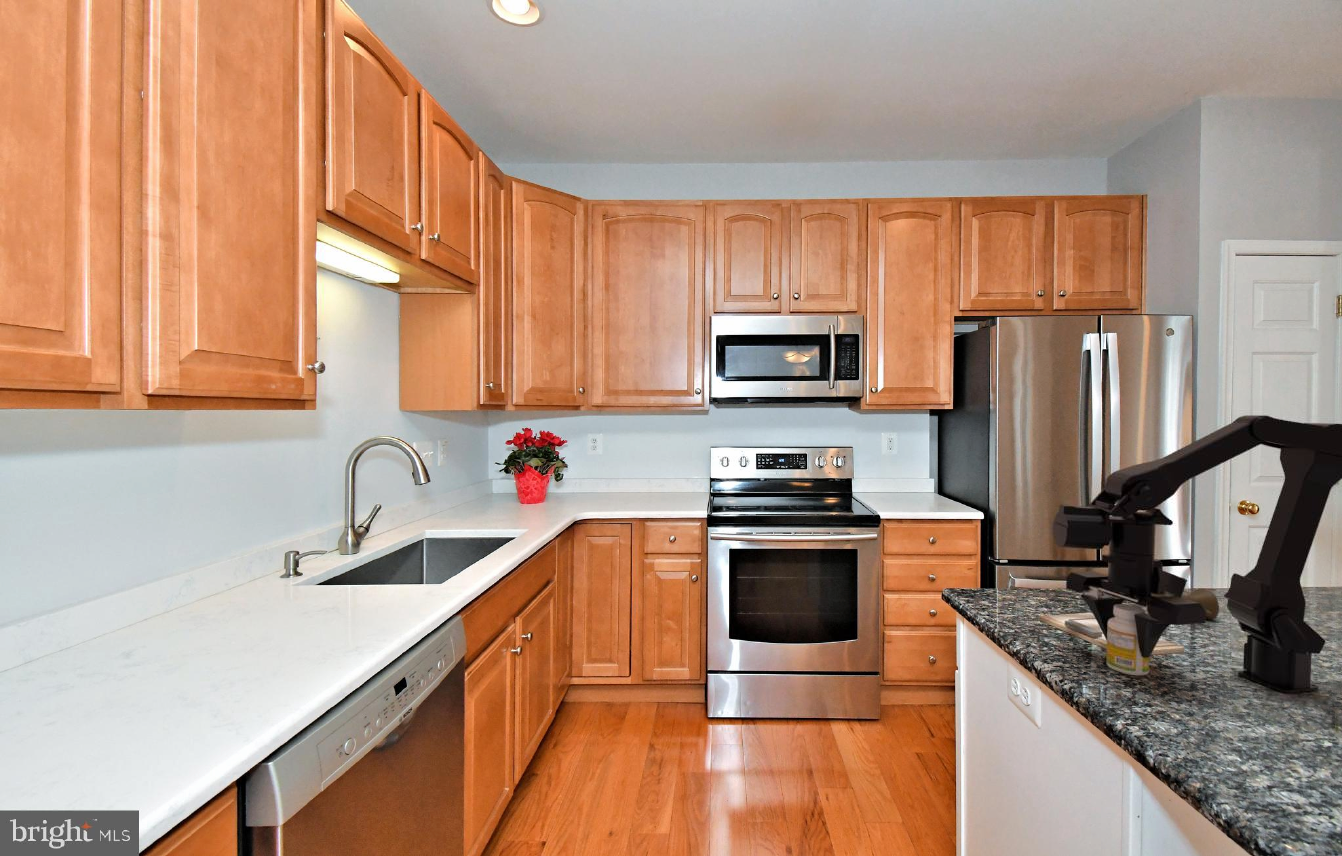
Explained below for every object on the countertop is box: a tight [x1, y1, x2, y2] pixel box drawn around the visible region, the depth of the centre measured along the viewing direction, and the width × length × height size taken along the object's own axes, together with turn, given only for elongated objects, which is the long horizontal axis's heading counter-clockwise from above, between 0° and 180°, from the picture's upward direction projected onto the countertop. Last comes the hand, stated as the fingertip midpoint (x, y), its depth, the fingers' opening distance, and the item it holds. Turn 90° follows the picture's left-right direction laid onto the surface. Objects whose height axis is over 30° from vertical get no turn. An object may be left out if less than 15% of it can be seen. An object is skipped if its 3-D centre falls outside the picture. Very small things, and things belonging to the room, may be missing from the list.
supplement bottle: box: [1105, 603, 1151, 676], centre depth 95 cm, size 5×5×10 cm
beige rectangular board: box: [1038, 612, 1185, 656], centre depth 110 cm, size 18×12×2 cm, turn 11°
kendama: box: [1135, 587, 1220, 621], centre depth 124 cm, size 6×10×20 cm
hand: (1127, 649), depth 95 cm, fingers closed on supplement bottle, 5 cm apart
